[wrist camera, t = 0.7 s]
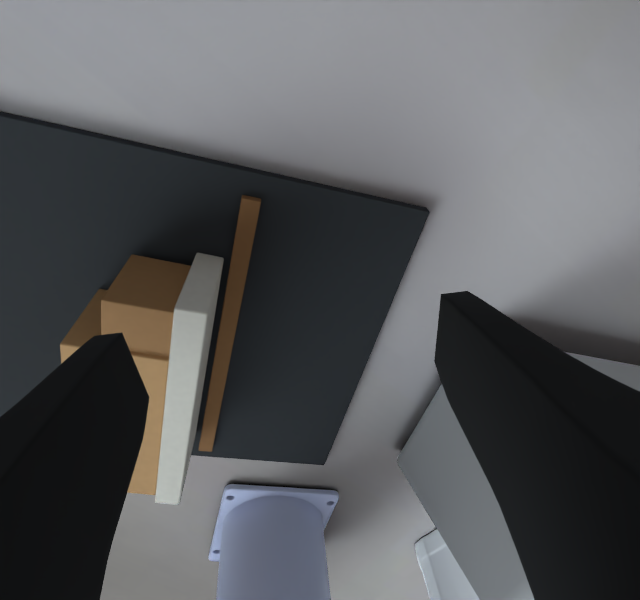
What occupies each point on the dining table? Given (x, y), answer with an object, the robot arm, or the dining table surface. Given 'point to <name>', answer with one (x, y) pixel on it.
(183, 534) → the dining table surface
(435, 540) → the jar
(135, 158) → the shoe mat
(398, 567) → the dining table surface
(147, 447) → the cardboard stepped box
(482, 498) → the tank
